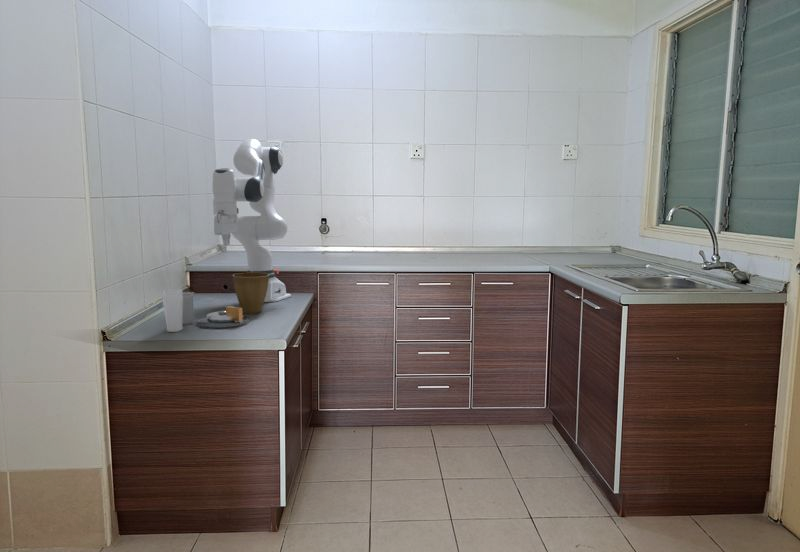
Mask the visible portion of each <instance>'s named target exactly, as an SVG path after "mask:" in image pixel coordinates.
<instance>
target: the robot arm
mask: <svg viewBox="0 0 800 552" xmlns="http://www.w3.org/2000/svg"><path fill="white" fill-rule="evenodd" d="M283 163H284V155H283V153H282V150H281V149H280V148H279V147H275V146H270V147H268V146H262V144H261V142H260V141H259V140H257V139H254V138H248V139H246V140H244V141H242V143H241V144H240V145H239V147H238V148H236V151H235V152H234V155H233V166H234V168H235V169H236V170H237V171H238V172H239V173H240V174H243V175H245V176H251V177H235V172H234V170H233V169H232V168H217V169H214V170H213V174H212V188H211V189H212V193H213V199H212V200H213V201H212V204H213V205H212V207H213V215H215V216H214V218H213V221H214V222H213V233H214V235H216V236H221V239H222V243H223V246H229V245H230V244H231V241H230V240H231V235H232V237H233V238H235V239H236V240H238V242H239V243H240V244H241V245H242V247H243V248H244V250H245V253H246V259H247V260H246V261H247V271H246V273H267V274H269V281H268V288H267V293H266V297H265V300H264V303H267V302H268V303H269V302H272V303H273V302H279V301H282V300H285V299H288V298H290V297H292V294H290V293H287V287H286V284H285V283H284V282H283V281H281V280H279V278H277V277H276V274H277V275H278V274H279V273H280V271H279V269H273V254H272V252H271V251H270V250H269V249H267V248H266V247H263V246H262V245H261V244H260V241H274V240H276V241H277V240H280V239H283V238H285V236H286V235H287V232H288V224H287V222H286V220H285V218H283V217H281V216H280V214H278V213H277V211H276V208H275V193H276V183H275V182H276V181H275V175H276V174H277V173H278V172H279V170H280V169H281V168H282V166H283ZM237 202H248V203H249V207H250V208H251V209H252V210H253V211H254V212H257V213H259V214H260V215H252V216H251V215H244V216H238V214H239V208H238V207H237Z"/></svg>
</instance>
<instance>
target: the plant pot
mask: <svg viewBox="0 0 800 552" xmlns="http://www.w3.org/2000/svg"><path fill="white" fill-rule="evenodd" d="M232 280H233V286H234V290H235V294H236V298H237V301H238V303H239V306H240V308H242V314H252V315H253V314H259V313H261V312H262V309H263V306H264V303H265V302H264V300H265V297H266V293H267V288H268V281H269V274H267V273H247V272H241V273H240V272H239V273H234V274H232Z"/></svg>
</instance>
